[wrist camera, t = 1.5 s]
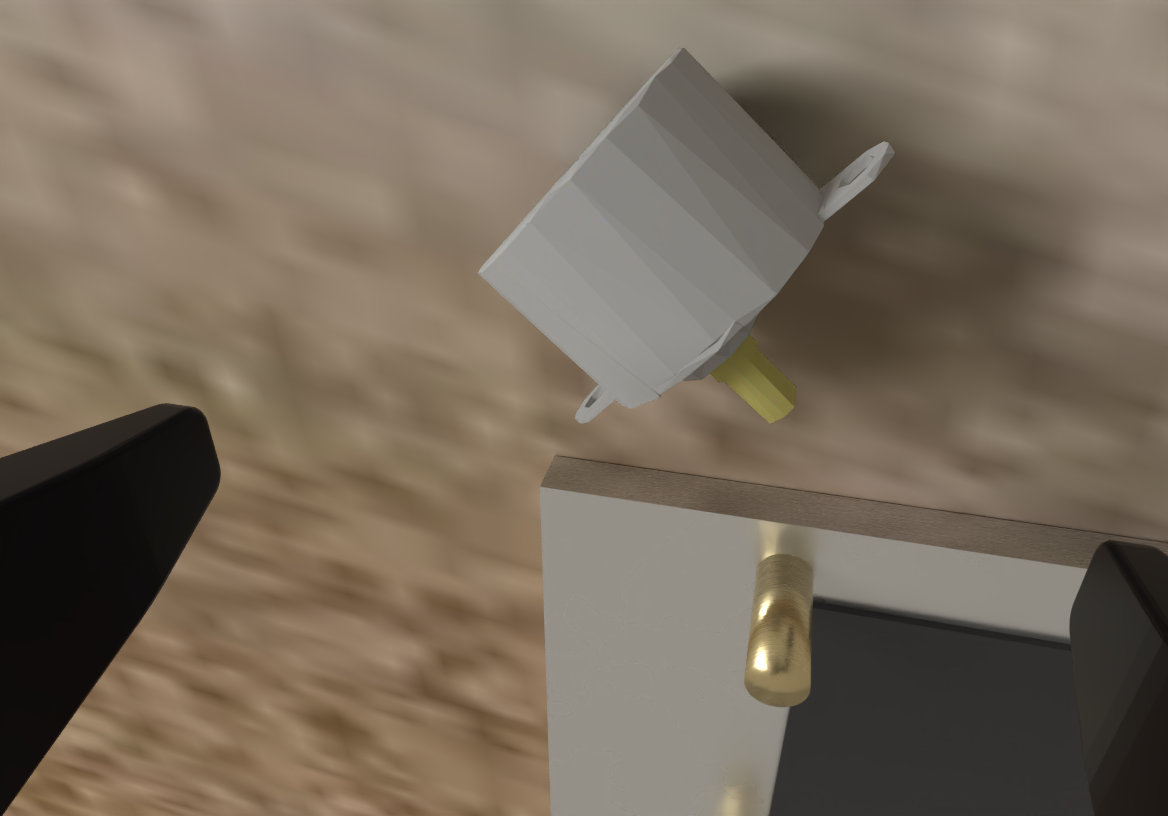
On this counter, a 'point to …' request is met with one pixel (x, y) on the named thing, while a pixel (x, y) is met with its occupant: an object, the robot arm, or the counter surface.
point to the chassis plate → (803, 652)
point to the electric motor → (671, 245)
